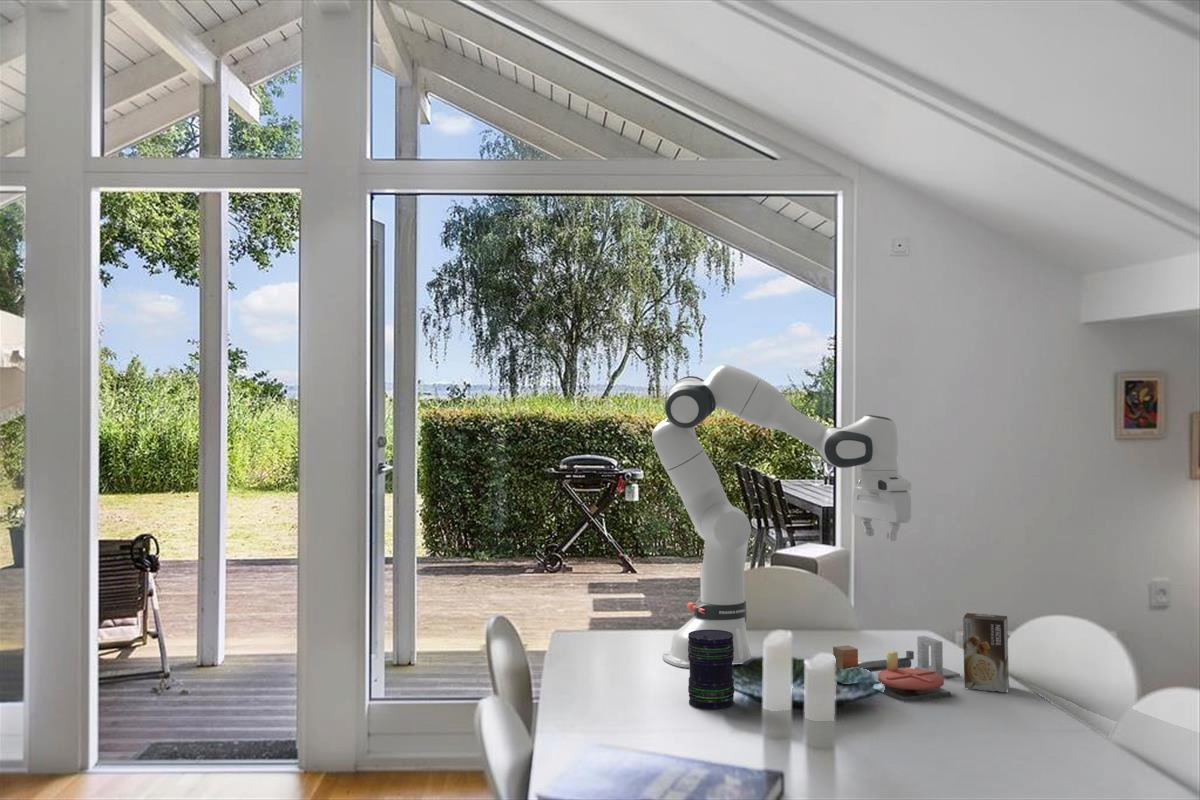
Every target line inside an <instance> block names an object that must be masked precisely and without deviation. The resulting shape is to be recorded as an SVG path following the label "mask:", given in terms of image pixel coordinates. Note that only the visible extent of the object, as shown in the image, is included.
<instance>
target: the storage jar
mask: <svg viewBox="0 0 1200 800" xmlns="http://www.w3.org/2000/svg"><path fill="white" fill-rule="evenodd" d="M688 638H689V640H688V652H689V653H688V659H689V661H690V668H689V677H688V687H687V689H688V690H687V691H688V692H687V693H688V698H689V699H688V704H689V706H690V707H692V708H694V709H698V710H703V711H722V710H727V709H730V708H732V707H734V705H735V701H734V697H735V696H734V695H735V685H734V684H735V682H734V681H735V680H734V677H733V666H732V662H733V658H734V656H733V652H734V646H733V634H732V633H731V632H728V631H723V630H697V631H692V632H690V633H688Z"/></svg>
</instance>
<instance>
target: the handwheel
mask: <svg viewBox="0 0 1200 800" xmlns="http://www.w3.org/2000/svg"><path fill="white" fill-rule="evenodd" d="M898 658H899V656H898V651H894V650H893V651H892V650H890V651H886V660H887V670H883V671H878V674H877V678H878V679H877V680H879V681H880V682H882V684H884V685H887V686H890V687H895V688H901V689H911V690H927V689H935V688H939V687H940V688H942V687H943V686H944V685H945V678H944V677H943V676H942V675H940V674H938V673H935V671H932V670H929V671H927V670H921V669H915V668H911V667H910V668H898ZM879 681H878V682H879ZM880 682H879V683H880Z"/></svg>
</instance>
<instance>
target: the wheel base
mask: <svg viewBox="0 0 1200 800" xmlns="http://www.w3.org/2000/svg"><path fill="white" fill-rule="evenodd" d="M884 686H885V690H884V692H883V694H885V695H887V696H890V697H892V698H894V699H897V700H899V701H901V702H903V701H904V702H903V703H906V701H908V702H915V700H916V701H923V700H924V699H925V700H931V698H933V699H940V697H941V698H947V697H951V696H952V694H951V693H952V692H951V691H950V690H948V689H944V688H943V687H939V688H935V689H927V690H911V689H901V688H895V687H890V686H887V685H884ZM925 700H924V701H925Z"/></svg>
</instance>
